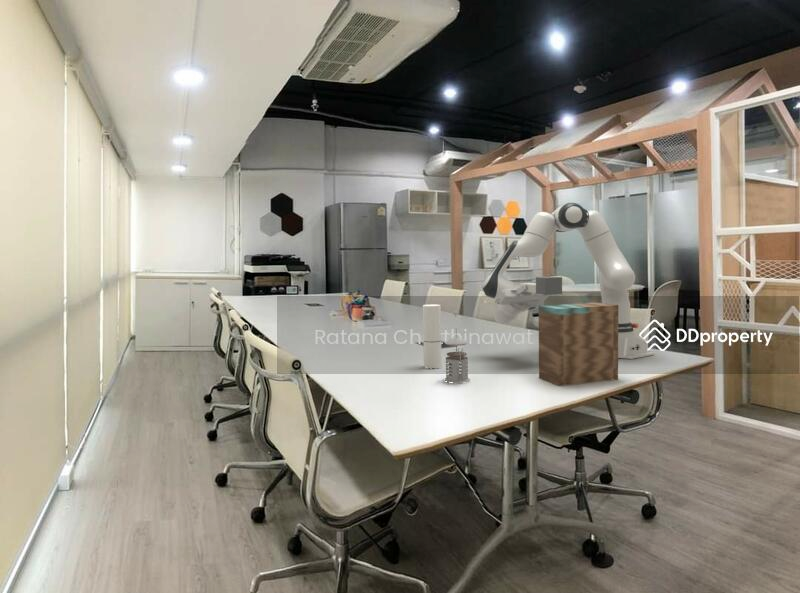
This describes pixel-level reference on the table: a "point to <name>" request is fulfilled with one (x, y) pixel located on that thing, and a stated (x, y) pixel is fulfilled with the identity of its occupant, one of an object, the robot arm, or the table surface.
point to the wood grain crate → (578, 343)
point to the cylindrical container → (432, 336)
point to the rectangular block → (545, 286)
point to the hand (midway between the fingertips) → (532, 286)
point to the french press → (456, 361)
